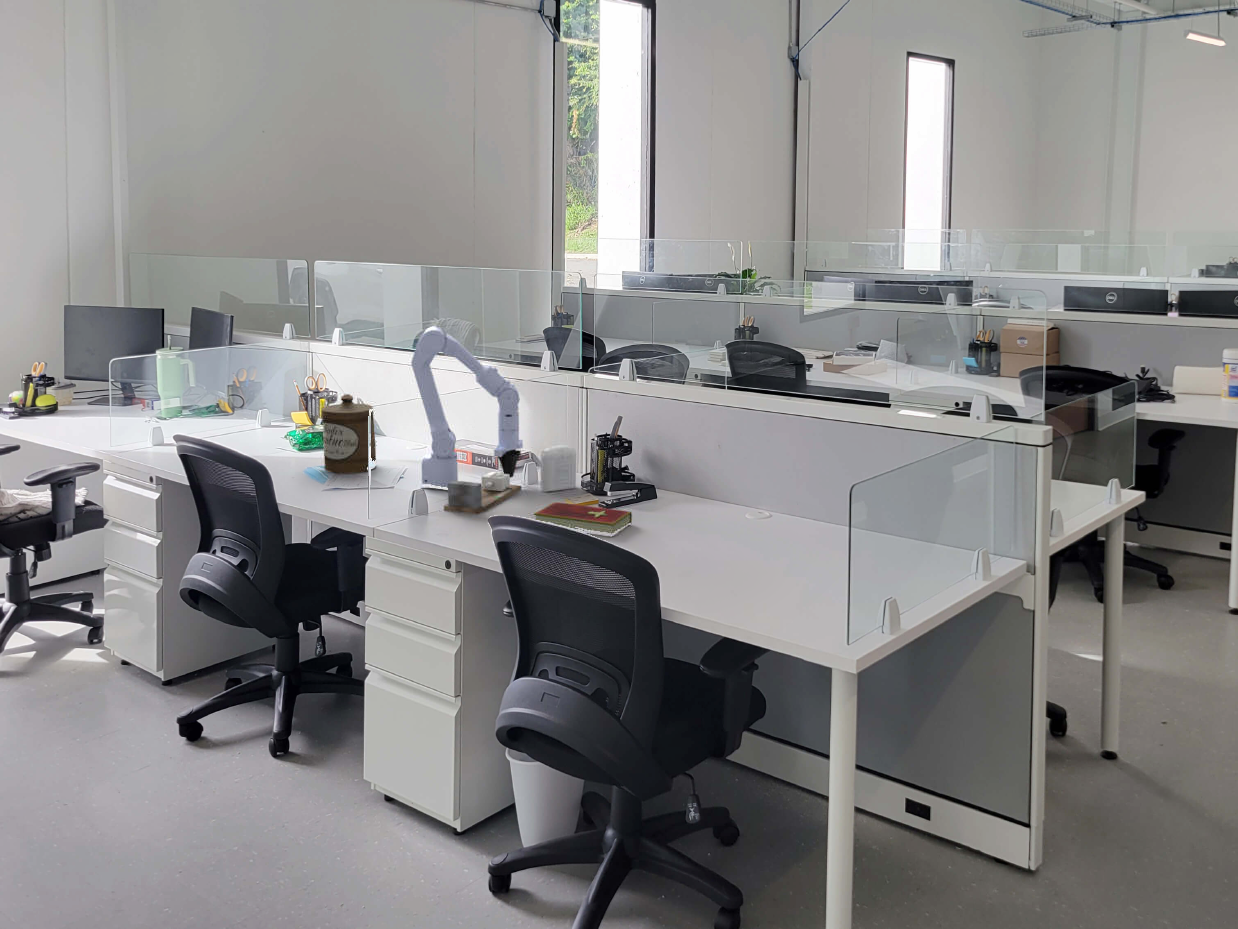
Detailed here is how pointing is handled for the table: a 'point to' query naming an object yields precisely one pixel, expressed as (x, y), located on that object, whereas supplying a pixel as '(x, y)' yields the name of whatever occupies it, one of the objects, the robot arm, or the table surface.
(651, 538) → the table surface
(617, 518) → the hardcover book
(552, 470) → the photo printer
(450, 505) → the test bench
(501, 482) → the gauge
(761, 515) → the table surface
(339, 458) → the wooden container
